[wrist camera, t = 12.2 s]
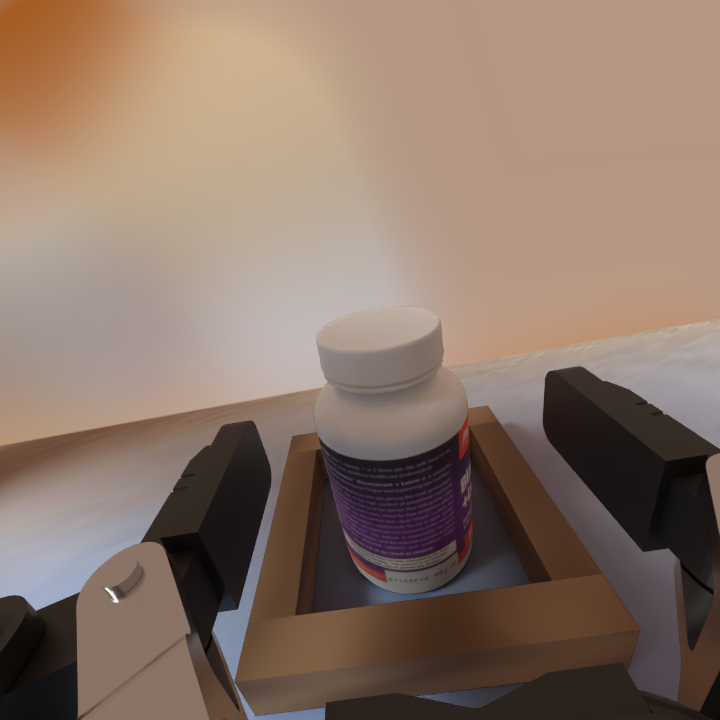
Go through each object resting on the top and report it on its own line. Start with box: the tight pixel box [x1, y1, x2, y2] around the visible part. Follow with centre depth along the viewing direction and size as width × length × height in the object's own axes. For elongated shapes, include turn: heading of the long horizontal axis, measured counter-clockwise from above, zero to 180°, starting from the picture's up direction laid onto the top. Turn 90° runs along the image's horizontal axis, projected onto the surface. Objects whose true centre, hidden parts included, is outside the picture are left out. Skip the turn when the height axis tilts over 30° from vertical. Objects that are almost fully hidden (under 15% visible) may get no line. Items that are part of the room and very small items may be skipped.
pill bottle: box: [314, 306, 473, 594], centre depth 13 cm, size 5×5×10 cm
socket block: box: [235, 406, 640, 716], centre depth 15 cm, size 11×11×2 cm
